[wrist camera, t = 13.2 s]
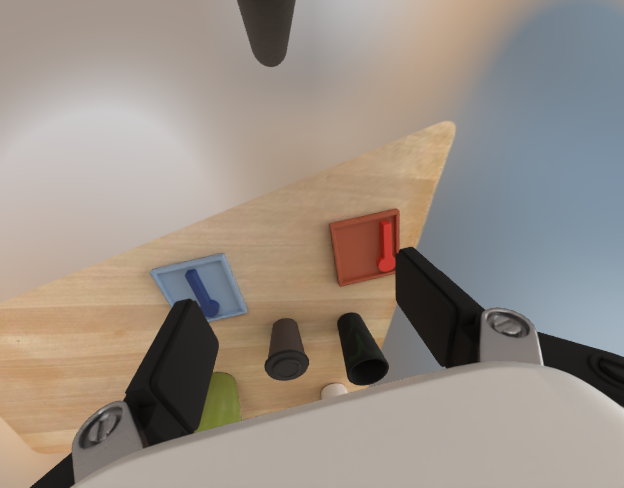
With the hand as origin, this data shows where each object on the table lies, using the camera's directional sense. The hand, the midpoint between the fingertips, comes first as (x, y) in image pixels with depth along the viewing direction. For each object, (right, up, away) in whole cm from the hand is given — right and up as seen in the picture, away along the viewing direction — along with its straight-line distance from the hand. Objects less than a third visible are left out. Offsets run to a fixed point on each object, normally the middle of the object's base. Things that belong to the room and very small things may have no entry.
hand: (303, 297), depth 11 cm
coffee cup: (-5, -15, +39) cm, 43 cm away
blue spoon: (-20, -6, +32) cm, 38 cm away
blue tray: (-20, -6, +32) cm, 38 cm away
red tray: (+10, +2, +33) cm, 35 cm away
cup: (+9, -15, +41) cm, 45 cm away
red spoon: (+14, +2, +33) cm, 36 cm away
